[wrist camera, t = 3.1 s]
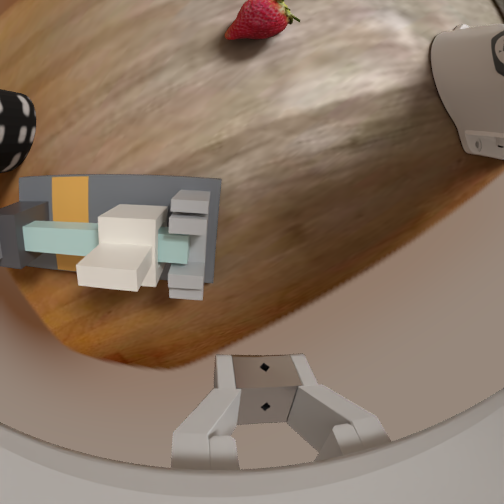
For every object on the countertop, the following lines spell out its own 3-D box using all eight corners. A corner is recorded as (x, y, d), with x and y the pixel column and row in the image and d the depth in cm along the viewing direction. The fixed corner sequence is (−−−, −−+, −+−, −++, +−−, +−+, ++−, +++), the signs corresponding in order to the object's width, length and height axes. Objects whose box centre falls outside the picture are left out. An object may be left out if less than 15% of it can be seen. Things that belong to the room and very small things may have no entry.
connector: (48, 201, 20) (5, 218, 14) (51, 247, 22) (13, 275, 15) (19, 201, 20) (-24, 218, 13) (23, 244, 21) (-16, 270, 15)
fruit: (213, 22, 18) (213, -5, 13) (274, 3, 18) (286, -23, 13) (233, 57, 19) (237, 35, 15) (295, 37, 19) (312, 15, 15)
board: (221, 178, 23) (221, 180, 22) (213, 278, 26) (213, 283, 25) (24, 176, 20) (18, 178, 19) (31, 262, 23) (25, 266, 22)
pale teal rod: (190, 228, 20) (188, 236, 19) (189, 253, 21) (187, 263, 19) (19, 220, 18) (6, 226, 16) (21, 241, 19) (9, 249, 17)
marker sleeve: (167, 206, 21) (139, 238, 13) (166, 262, 22) (143, 319, 14) (119, 204, 20) (69, 234, 12) (120, 258, 22) (80, 311, 14)
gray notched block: (210, 191, 22) (208, 202, 17) (204, 272, 24) (202, 303, 19) (180, 189, 22) (169, 200, 17) (177, 270, 24) (168, 301, 19)
